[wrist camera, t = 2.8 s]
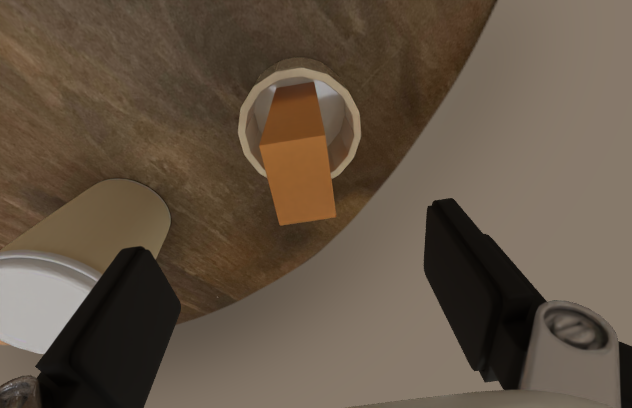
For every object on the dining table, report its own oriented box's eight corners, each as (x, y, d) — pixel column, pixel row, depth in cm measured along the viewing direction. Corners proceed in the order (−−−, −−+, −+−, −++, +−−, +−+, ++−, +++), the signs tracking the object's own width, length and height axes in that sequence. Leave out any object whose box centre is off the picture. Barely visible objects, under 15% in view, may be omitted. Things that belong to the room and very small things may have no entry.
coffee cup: (57, 172, 27) (-87, 268, 17) (163, 166, 27) (84, 258, 17) (101, 252, 32) (10, 363, 22) (190, 246, 32) (141, 354, 22)
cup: (344, 48, 23) (355, 58, 18) (353, 149, 27) (364, 178, 23) (237, 66, 23) (222, 80, 19) (263, 164, 28) (255, 195, 23)
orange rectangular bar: (314, 81, 24) (325, 134, 13) (321, 136, 26) (336, 217, 16) (276, 87, 24) (258, 145, 14) (287, 142, 26) (279, 225, 16)
